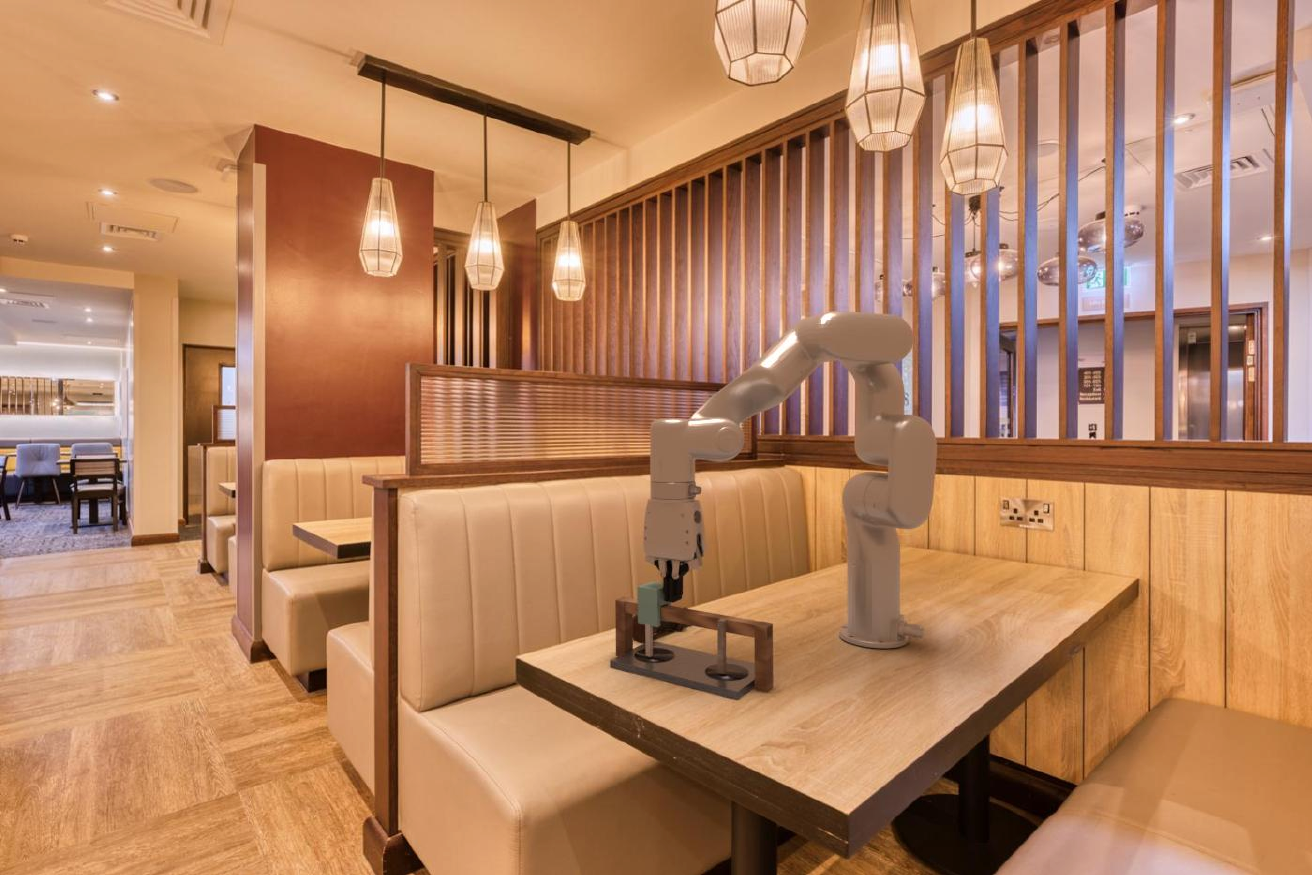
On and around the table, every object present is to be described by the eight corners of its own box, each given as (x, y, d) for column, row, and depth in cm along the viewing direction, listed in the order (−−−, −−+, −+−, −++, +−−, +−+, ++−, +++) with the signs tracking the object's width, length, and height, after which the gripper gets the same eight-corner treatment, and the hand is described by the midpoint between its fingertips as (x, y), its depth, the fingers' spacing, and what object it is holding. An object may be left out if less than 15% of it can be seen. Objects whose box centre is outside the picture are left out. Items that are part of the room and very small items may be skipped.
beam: (773, 687, 102) (772, 623, 101) (764, 694, 99) (764, 629, 99) (623, 651, 118) (623, 596, 118) (612, 657, 115) (612, 600, 115)
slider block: (671, 650, 113) (671, 584, 113) (657, 658, 110) (656, 589, 109) (652, 646, 116) (652, 581, 115) (638, 653, 112) (637, 586, 112)
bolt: (691, 633, 134) (641, 650, 123) (674, 617, 137) (625, 632, 126) (702, 611, 132) (653, 626, 121) (686, 595, 135) (636, 609, 124)
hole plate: (770, 673, 107) (770, 666, 107) (737, 699, 97) (737, 691, 97) (650, 646, 120) (650, 639, 120) (610, 667, 111) (610, 659, 111)
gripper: (722, 492, 109) (723, 601, 109) (648, 487, 117) (649, 589, 117) (700, 496, 103) (700, 612, 103) (623, 491, 111) (624, 598, 111)
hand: (673, 600), depth 110 cm, fingers closed
